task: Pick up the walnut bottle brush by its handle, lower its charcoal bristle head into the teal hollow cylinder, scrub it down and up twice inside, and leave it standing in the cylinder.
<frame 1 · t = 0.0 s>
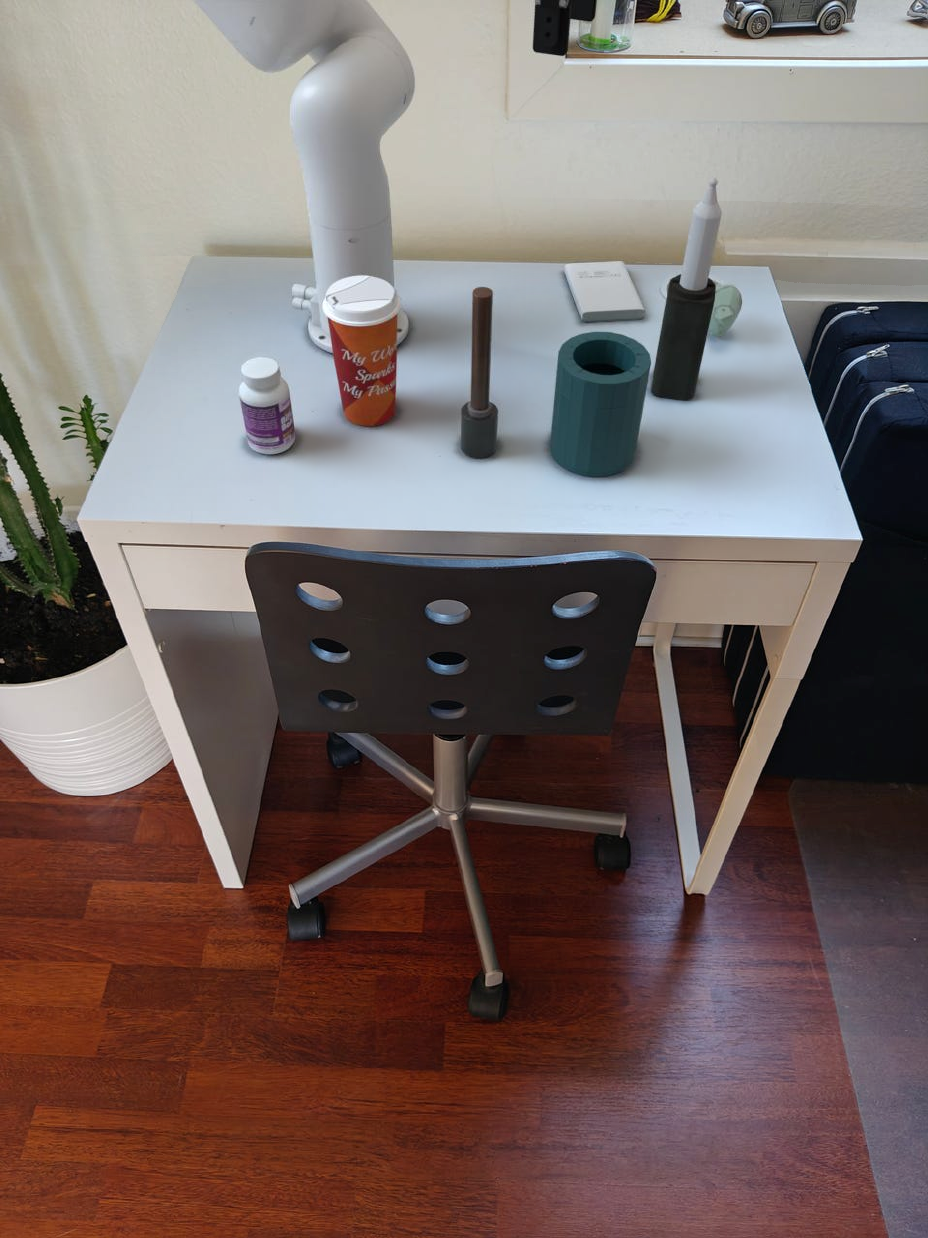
hand: (564, 35, 94), 37 cm above the table, tool pointing down, fingers open, 9 cm apart
pill bottle: (272, 442, 112), on the table
hard drive: (602, 297, 133), on the table
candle: (672, 387, 119), on the table
teal hollow cylinder: (592, 449, 111), on the table
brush: (478, 447, 111), on the table
robot head: (716, 336, 127), on the table
coffee cup: (370, 411, 116), on the table
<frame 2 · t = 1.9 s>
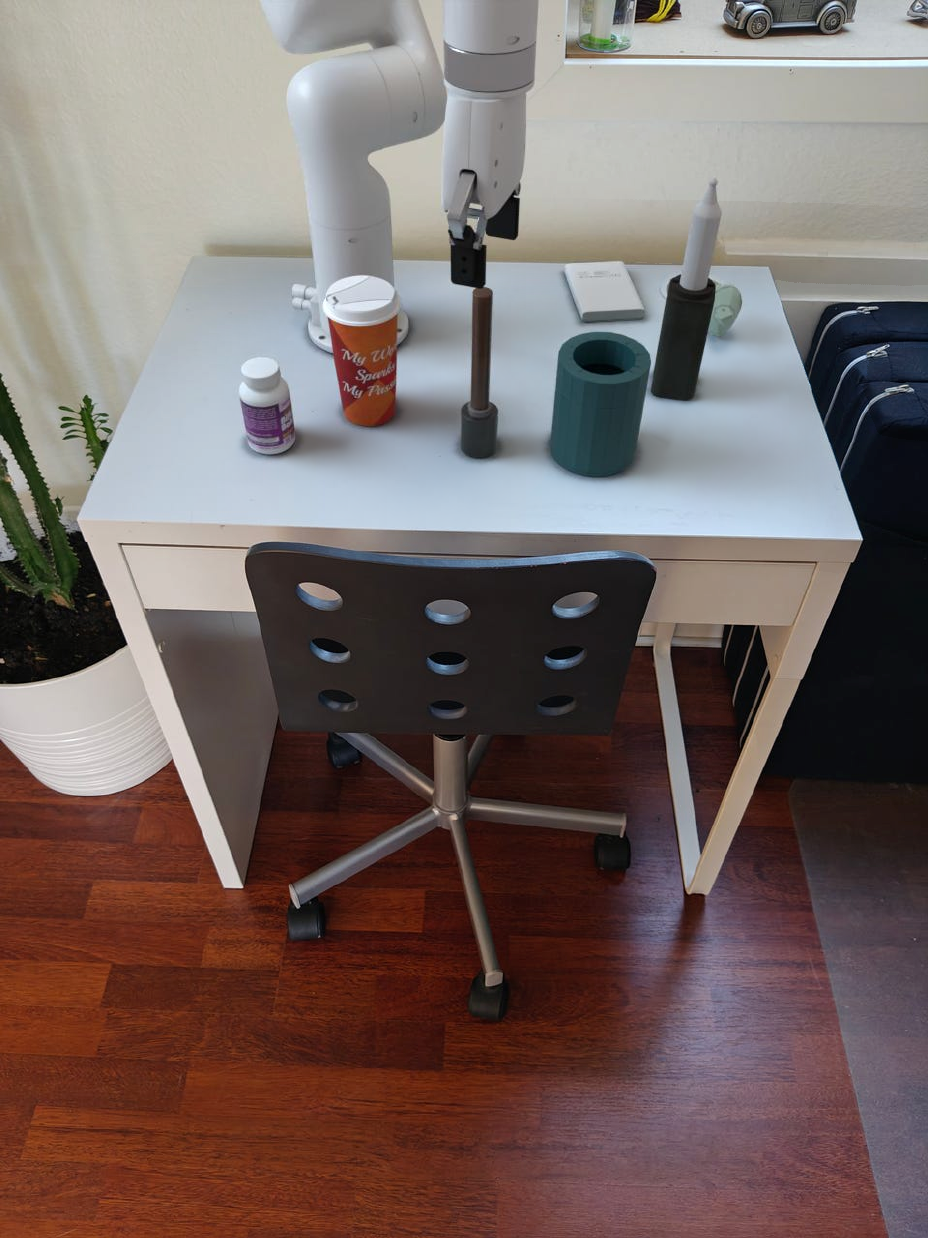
hand: (485, 259, 94), 22 cm above the table, tool pointing down, fingers open, 9 cm apart
nothing on the table moved.
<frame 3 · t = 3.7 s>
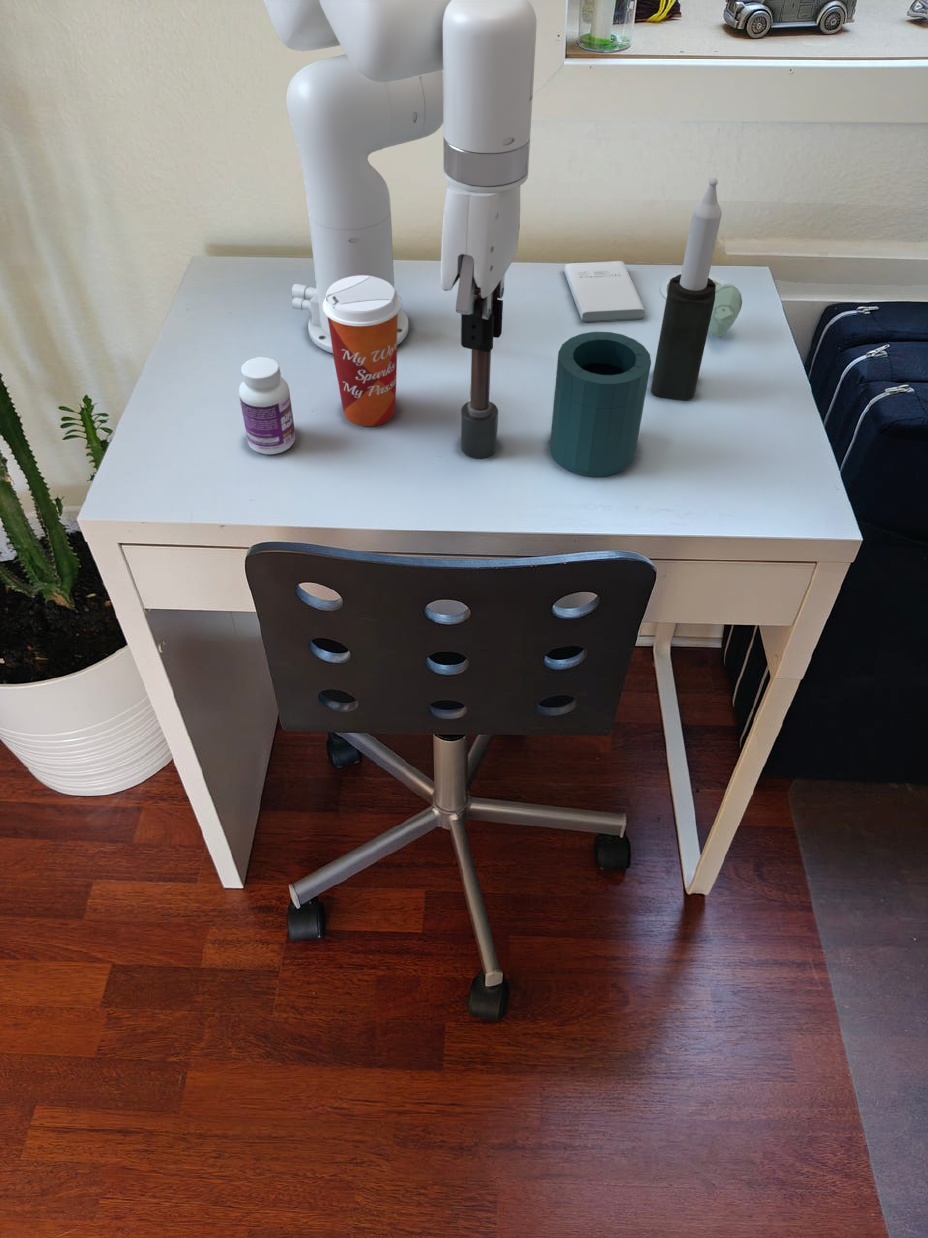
hand: (481, 339, 101), 14 cm above the table, tool pointing down, fingers closed on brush, 2 cm apart
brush: (478, 447, 111), on the table, touching gripper
everything else where it was.
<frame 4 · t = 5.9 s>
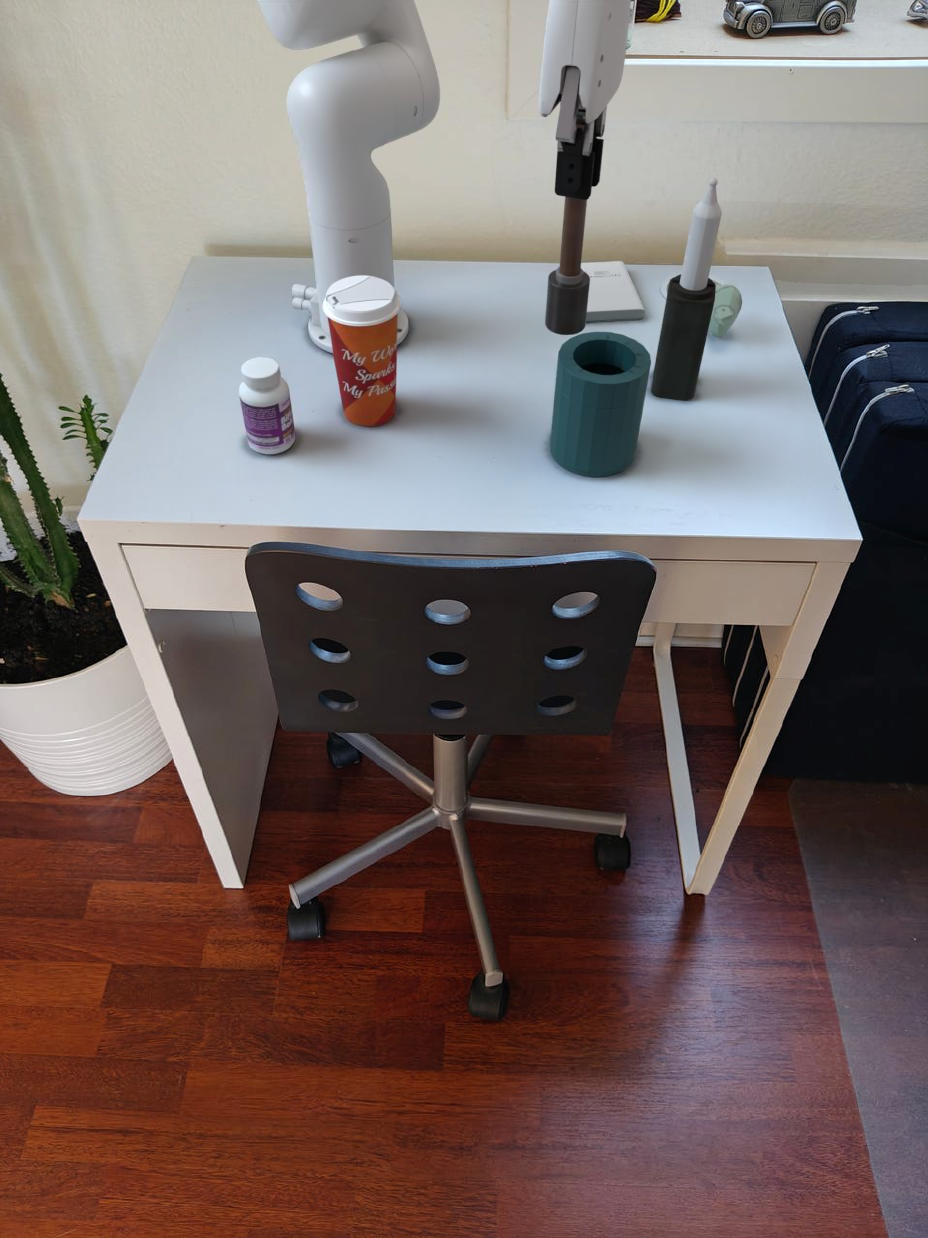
hand: (577, 187, 89), 29 cm above the table, tool pointing down, fingers closed on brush
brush: (565, 324, 99), point 16 cm above the table, touching gripper
everything else where it was.
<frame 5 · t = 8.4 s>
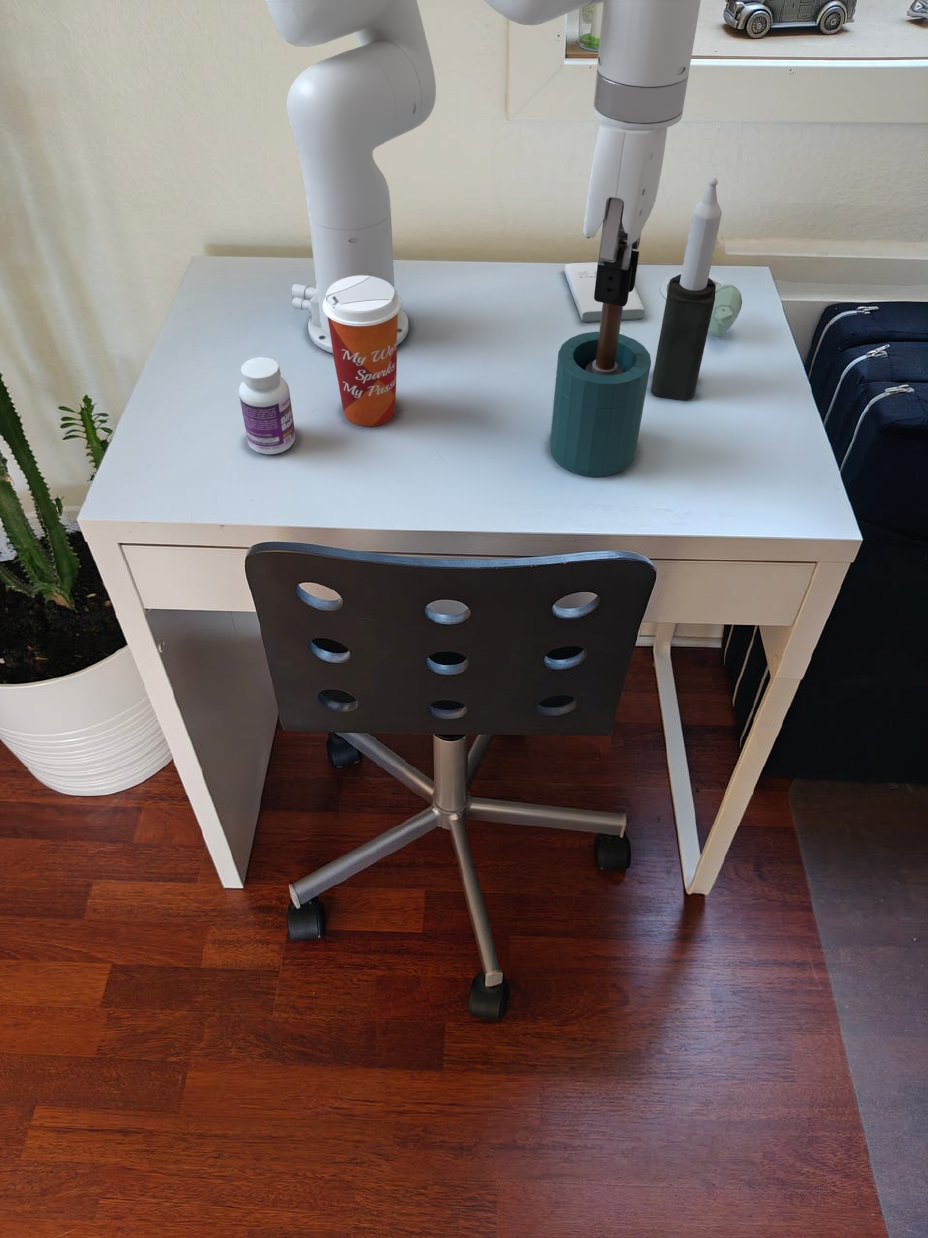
hand: (614, 293, 97), 19 cm above the table, tool pointing down, fingers closed on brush
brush: (599, 409, 107), point 5 cm above the table, touching gripper
everything else where it was.
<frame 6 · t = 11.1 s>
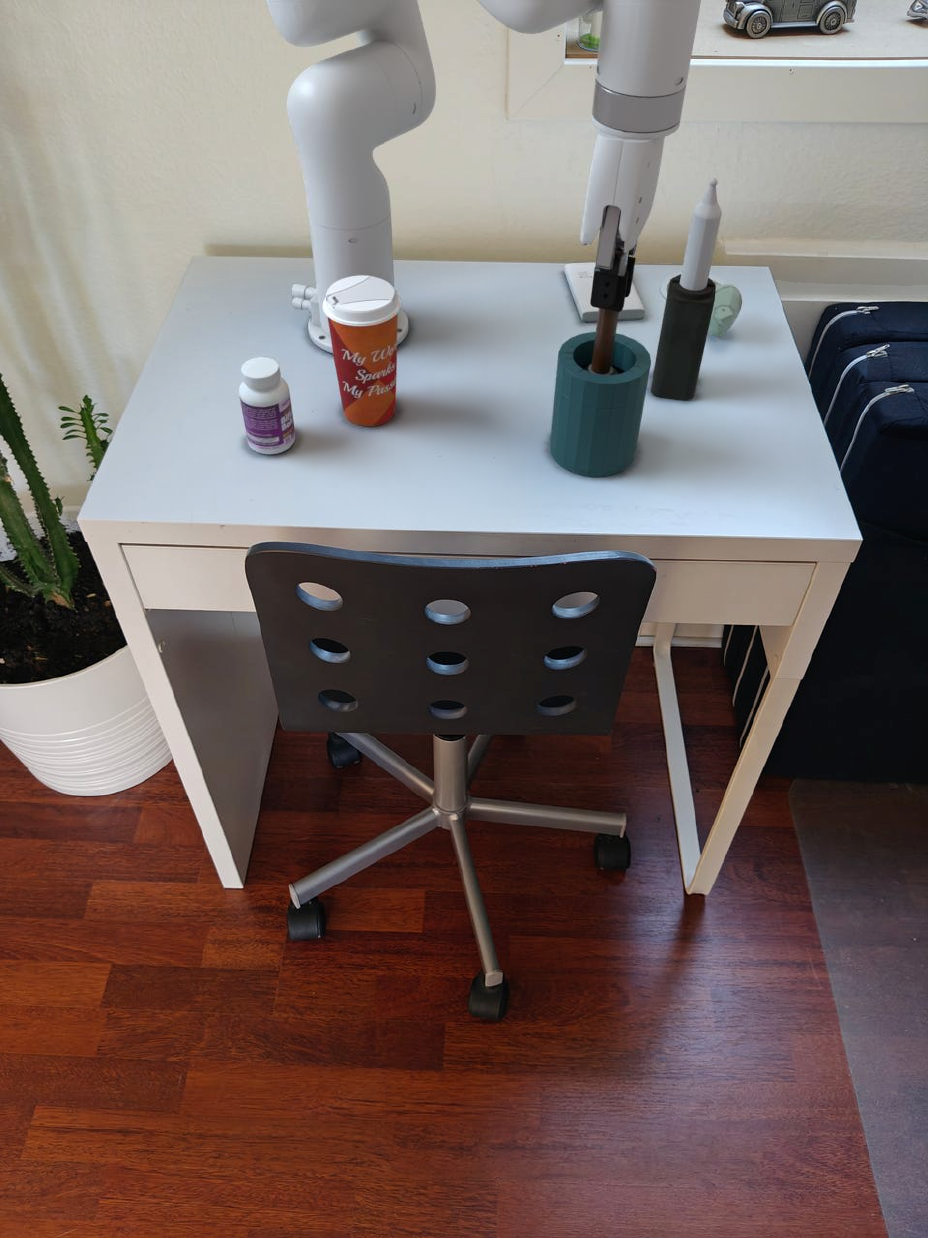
hand: (610, 299, 97), 18 cm above the table, tool pointing down, fingers closed on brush
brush: (594, 413, 108), point 5 cm above the table, touching gripper
everything else where it was.
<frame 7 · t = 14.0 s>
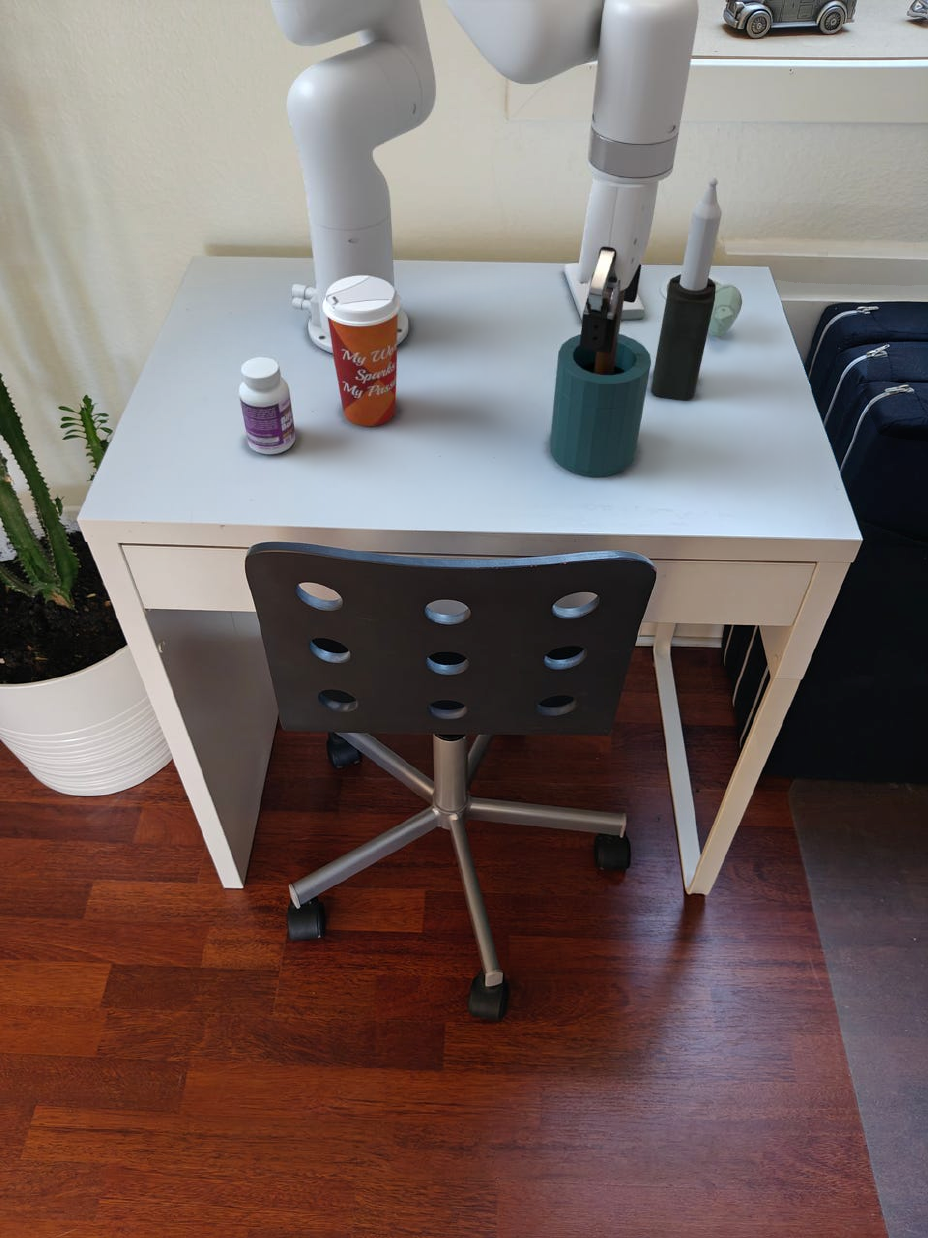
hand: (608, 323, 99), 16 cm above the table, tool pointing down, fingers open, 9 cm apart
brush: (593, 445, 111), point 1 cm above the table, touching teal hollow cylinder
everything else where it was.
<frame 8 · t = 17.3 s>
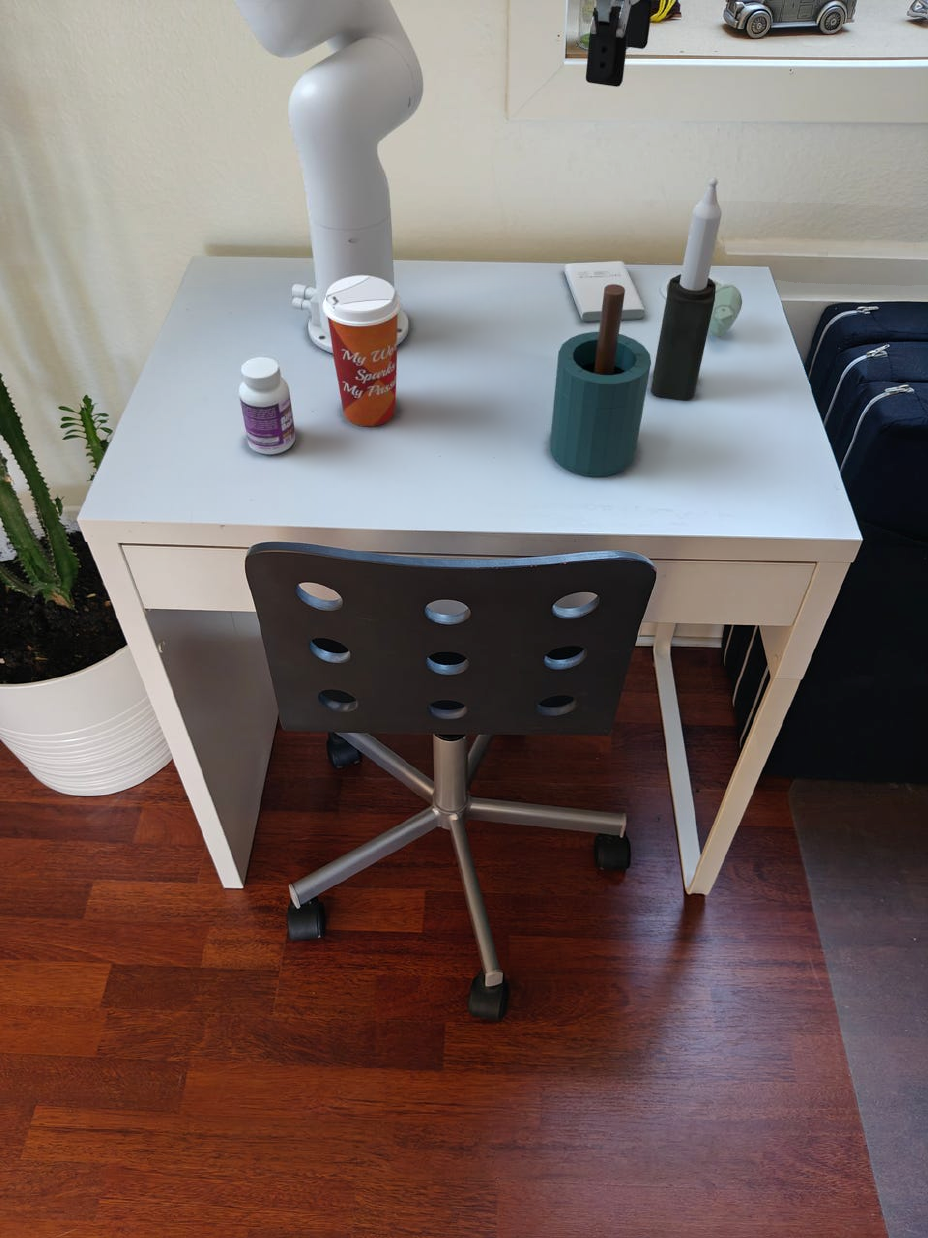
hand: (617, 63, 91), 36 cm above the table, tool pointing down, fingers open, 9 cm apart
nothing on the table moved.
at the end: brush 0.1 cm off-centre in the teal hollow cylinder, point 0.6 cm above the teal hollow cylinder's base; the gripper is holding nothing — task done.
